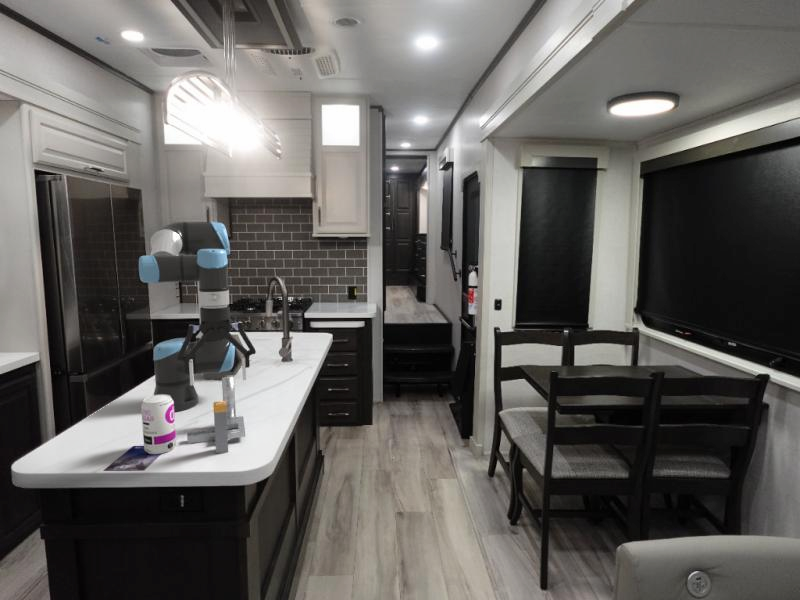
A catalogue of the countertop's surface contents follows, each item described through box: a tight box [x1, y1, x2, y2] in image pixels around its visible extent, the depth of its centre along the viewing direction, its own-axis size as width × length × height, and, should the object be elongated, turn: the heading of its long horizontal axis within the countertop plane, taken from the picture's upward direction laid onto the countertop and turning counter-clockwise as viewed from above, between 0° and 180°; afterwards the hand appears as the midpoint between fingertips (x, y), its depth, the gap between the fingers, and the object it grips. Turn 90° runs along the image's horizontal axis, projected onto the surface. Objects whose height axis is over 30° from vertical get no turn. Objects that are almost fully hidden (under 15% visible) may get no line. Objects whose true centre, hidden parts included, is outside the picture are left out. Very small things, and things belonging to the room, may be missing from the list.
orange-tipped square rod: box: [212, 400, 229, 455], centre depth 136 cm, size 3×3×14 cm
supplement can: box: [140, 394, 177, 455], centre depth 137 cm, size 8×8×15 cm
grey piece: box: [186, 375, 246, 445], centre depth 147 cm, size 16×17×16 cm
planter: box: [203, 334, 244, 380], centre depth 203 cm, size 17×8×21 cm
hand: (218, 381), depth 134 cm, fingers open, 13 cm apart
